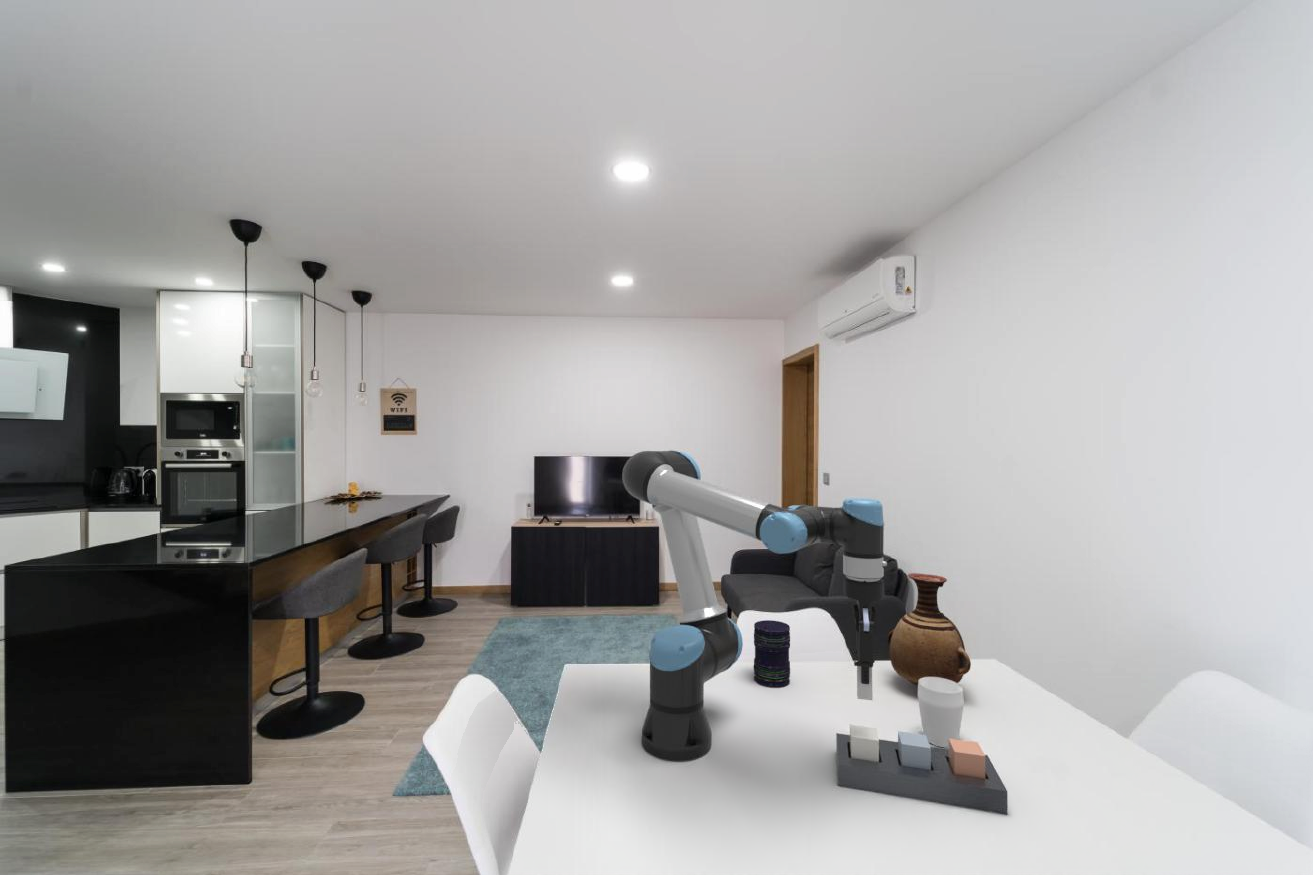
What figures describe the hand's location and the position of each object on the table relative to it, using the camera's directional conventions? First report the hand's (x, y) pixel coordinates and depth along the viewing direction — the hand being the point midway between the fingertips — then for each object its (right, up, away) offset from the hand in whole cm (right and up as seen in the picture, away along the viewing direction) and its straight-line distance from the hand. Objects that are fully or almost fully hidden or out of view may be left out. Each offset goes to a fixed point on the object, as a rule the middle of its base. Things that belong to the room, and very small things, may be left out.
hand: (864, 697), depth 108 cm
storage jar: (-9, -16, +43) cm, 47 cm away
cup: (+21, -15, +12) cm, 29 cm away
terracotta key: (+17, -12, -5) cm, 21 cm away
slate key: (+8, -12, -3) cm, 15 cm away
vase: (+31, -16, +37) cm, 51 cm away
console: (+8, -15, -3) cm, 17 cm away
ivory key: (0, -12, 0) cm, 12 cm away
